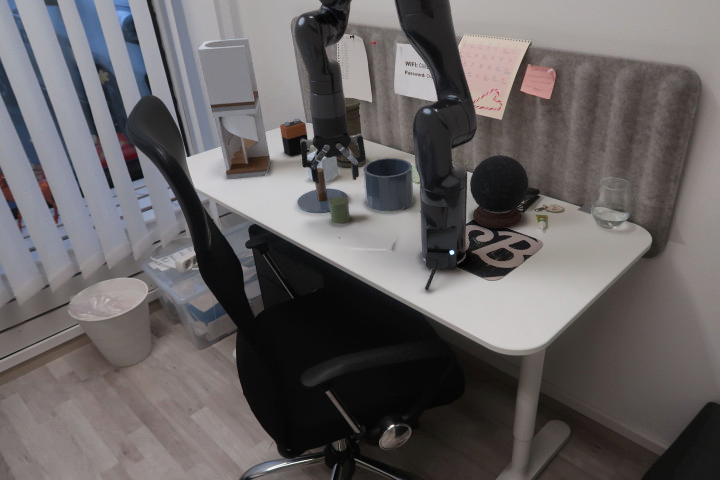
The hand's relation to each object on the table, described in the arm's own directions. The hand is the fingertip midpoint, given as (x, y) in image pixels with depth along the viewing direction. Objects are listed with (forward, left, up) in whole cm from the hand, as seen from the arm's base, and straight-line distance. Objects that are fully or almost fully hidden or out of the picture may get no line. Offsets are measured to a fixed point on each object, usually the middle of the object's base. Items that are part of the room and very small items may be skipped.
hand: (336, 180), depth 128 cm
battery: (+43, +25, -11) cm, 51 cm away
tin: (0, 0, -11) cm, 11 cm away
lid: (+9, +7, -10) cm, 15 cm away
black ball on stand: (+5, -37, -11) cm, 39 cm away
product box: (+24, +11, -11) cm, 28 cm away
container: (+36, +6, -11) cm, 38 cm away
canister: (+11, -10, -11) cm, 18 cm away
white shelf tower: (+29, +35, -11) cm, 47 cm away
